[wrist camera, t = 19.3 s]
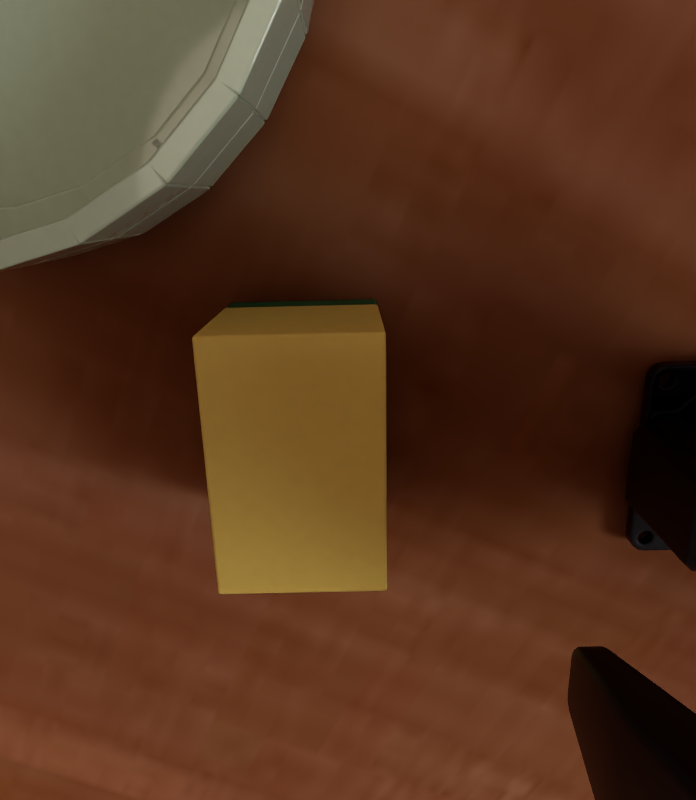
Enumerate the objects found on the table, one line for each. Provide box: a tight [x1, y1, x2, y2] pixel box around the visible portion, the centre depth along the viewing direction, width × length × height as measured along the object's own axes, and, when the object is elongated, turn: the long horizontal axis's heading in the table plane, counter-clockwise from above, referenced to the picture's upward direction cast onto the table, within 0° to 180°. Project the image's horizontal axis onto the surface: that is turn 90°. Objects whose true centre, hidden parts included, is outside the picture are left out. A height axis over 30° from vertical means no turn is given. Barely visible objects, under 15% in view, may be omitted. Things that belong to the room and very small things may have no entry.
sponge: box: [192, 299, 387, 594], centre depth 18 cm, size 4×7×5 cm, turn 1°
